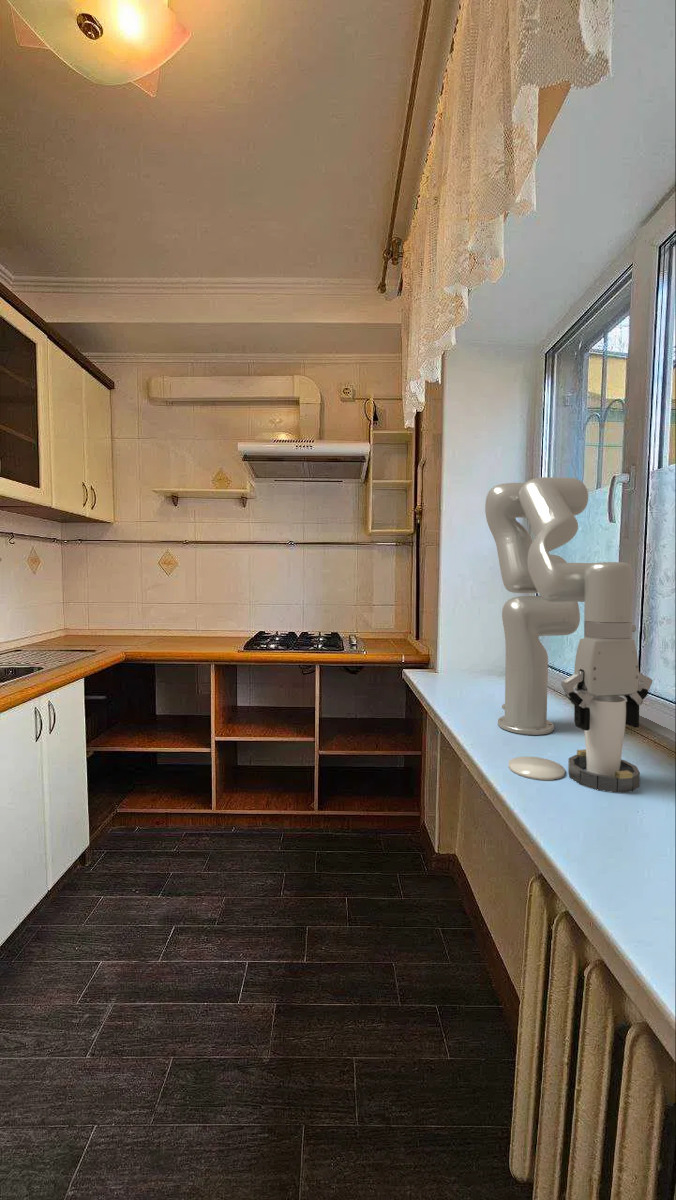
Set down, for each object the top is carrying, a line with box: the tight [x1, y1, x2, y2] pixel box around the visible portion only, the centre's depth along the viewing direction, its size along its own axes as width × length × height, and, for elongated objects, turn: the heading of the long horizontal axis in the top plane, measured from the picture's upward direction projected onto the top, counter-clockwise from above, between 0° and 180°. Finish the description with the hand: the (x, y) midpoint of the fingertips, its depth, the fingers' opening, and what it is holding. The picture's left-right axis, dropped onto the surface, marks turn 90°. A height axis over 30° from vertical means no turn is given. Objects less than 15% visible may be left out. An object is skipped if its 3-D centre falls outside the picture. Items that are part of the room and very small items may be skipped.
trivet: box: [508, 756, 566, 781], centre depth 96 cm, size 10×10×1 cm
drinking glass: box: [583, 696, 627, 777], centre depth 91 cm, size 7×7×15 cm
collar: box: [567, 749, 641, 793], centre depth 92 cm, size 12×11×3 cm
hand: (606, 726), depth 90 cm, fingers open, 9 cm apart
